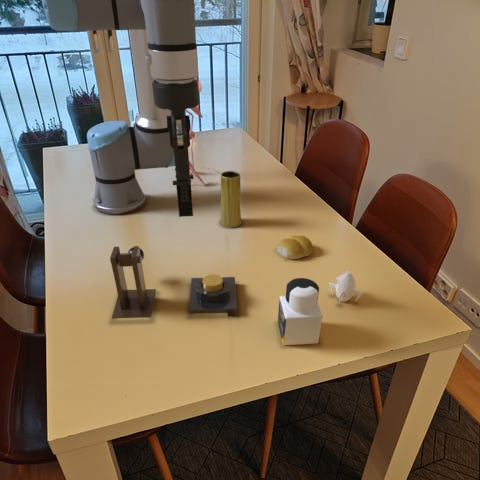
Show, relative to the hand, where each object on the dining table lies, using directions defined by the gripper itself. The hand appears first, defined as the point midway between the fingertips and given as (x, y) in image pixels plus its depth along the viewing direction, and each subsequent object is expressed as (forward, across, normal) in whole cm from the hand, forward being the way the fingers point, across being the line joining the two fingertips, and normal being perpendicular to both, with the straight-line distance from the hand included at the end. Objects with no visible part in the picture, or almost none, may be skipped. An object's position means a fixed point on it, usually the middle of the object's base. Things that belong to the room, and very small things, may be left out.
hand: (186, 214), depth 85 cm
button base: (+20, +2, +4) cm, 20 cm away
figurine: (+20, -69, +7) cm, 72 cm away
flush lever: (+12, -1, -12) cm, 17 cm away
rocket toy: (+20, +6, +33) cm, 39 cm away
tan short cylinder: (+16, +2, +5) cm, 17 cm away
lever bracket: (+20, +3, -13) cm, 24 cm away
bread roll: (+20, -16, +27) cm, 37 cm away
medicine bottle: (+20, +16, +20) cm, 33 cm away
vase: (+20, -34, +13) cm, 42 cm away
